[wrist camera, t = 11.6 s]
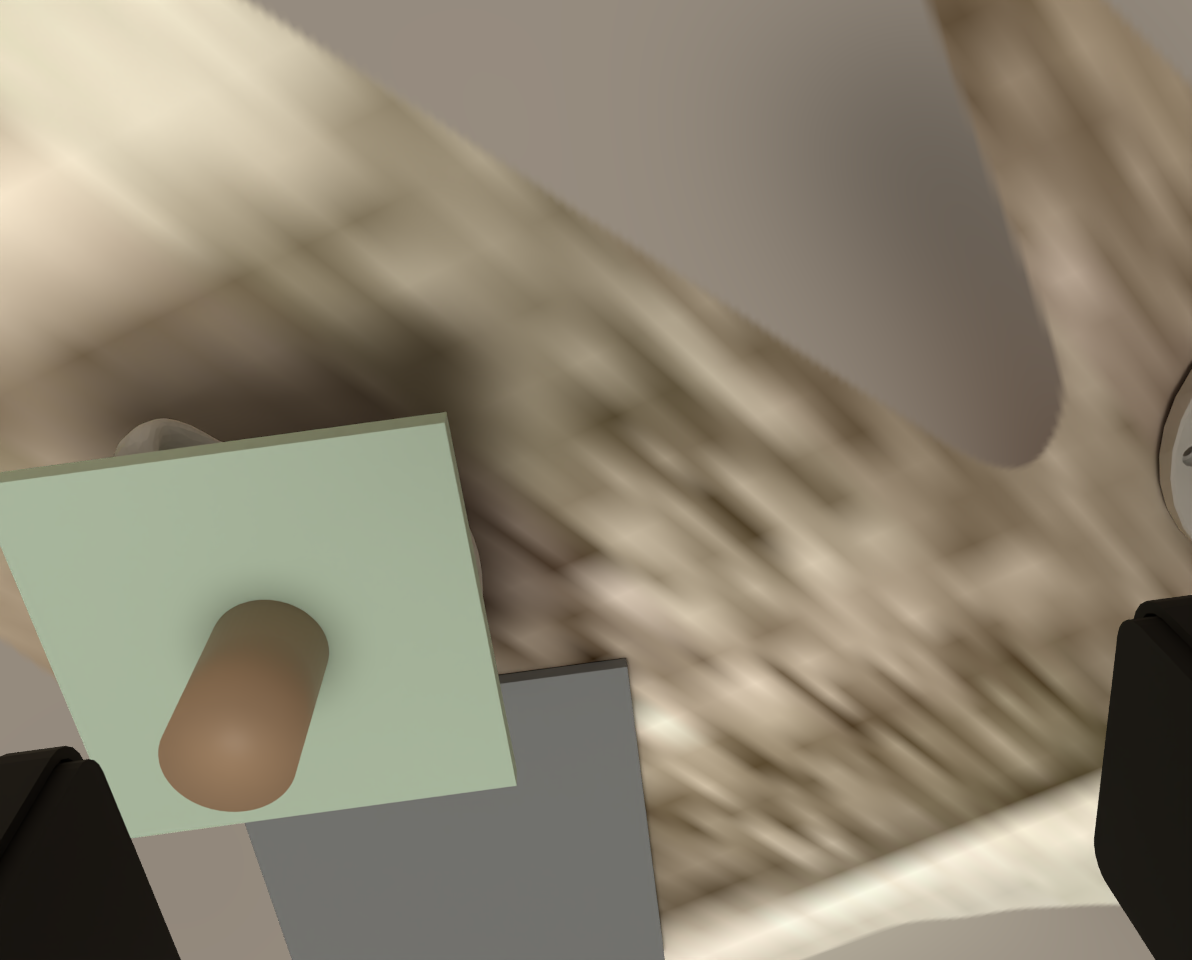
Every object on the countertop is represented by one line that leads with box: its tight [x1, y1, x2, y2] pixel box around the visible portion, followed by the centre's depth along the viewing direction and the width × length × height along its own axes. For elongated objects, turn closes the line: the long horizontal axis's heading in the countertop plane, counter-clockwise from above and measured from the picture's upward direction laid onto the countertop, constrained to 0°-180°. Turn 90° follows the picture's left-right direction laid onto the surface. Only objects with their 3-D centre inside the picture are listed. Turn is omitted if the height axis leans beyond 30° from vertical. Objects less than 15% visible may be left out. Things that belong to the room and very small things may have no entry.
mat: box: [245, 658, 665, 960], centre depth 47 cm, size 17×17×1 cm
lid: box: [0, 412, 517, 838], centre depth 30 cm, size 13×13×6 cm
